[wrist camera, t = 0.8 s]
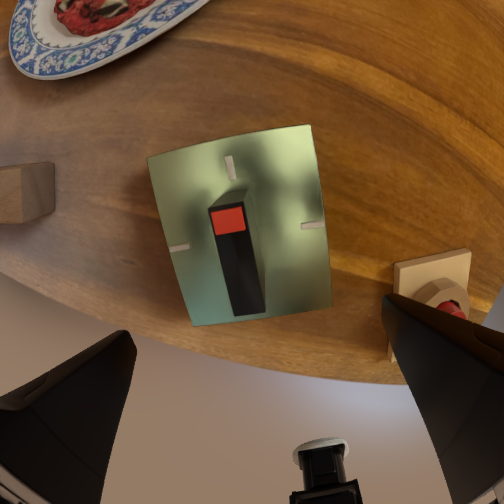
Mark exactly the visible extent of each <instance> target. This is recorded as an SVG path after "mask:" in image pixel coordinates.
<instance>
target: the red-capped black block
mask: <svg viewBox="0 0 504 504" xmlns="http://www.w3.org/2000/svg"><path fill="white" fill-rule="evenodd" d="M208 212H209V216H210V221H211V225H212V229H213V234H214V238H215V242H216V247H217V251H218V255H219V259H220V263H221V267H222V272H223V276H224V280H225V284H226V288H227V292H228V296H229V300H230V303H231V307H232V311H233V315H234V317H237V316H245V315H252V314H259V313H265V312H266V300H265V272H264V266H263V261H262V256H261V250H260V245H259V240H258V234H257V229H256V224H255V218H254V213H253V208H252V203H251V197H250V192H249V189H246V190H240V191H235V192H230V193H225V194H222V195H221V196H220V197H219V198H218V199H217V200H216V201H215V202H214V203H213V204H212V205H211V206H210V207H209V208H208Z"/></svg>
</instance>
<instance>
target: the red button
mask: <svg viewBox="0 0 504 504" xmlns="http://www.w3.org/2000/svg"><path fill="white" fill-rule="evenodd" d="M436 308H437V309H439V310H442V311H445V312H447V313H450V314H453V315H455V316H458V317H460V318H463V319H466V316H465V314H464V313H463V312H462V311H461V310H460V309H459V308H458V307H457V306H456V305H455V304H454V303H453V302H450V301H446V302H443V303H441V304H439V305H438V306H437V307H436Z"/></svg>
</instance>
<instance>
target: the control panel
mask: <svg viewBox="0 0 504 504" xmlns="http://www.w3.org/2000/svg"><path fill="white" fill-rule="evenodd" d="M147 164H148V168H149V173H150V178H151V182H152V186H153V191H154V195H155V199H156V203H157V207H158V211H159V215H160V219H161V223H162V227H163V231H164V234H165V238H166V242H167V245H168V249H169V253H170V256H171V259H172V263H173V266H174V270H175V273H176V276H177V279H178V283H179V286H180V289H181V292H182V295H183V298H184V301H185V305H186V308H187V311H188V314H189V316H190V319H191V322H192V325H193V327H195V326H205V325H214V324H223V323H231V322H239V321H247V320H255V319H262V318H269V317H275V316H282V315H288V314H295V313H301V312H307V311H312V310H318V309H324V308H329V307H333V301H332V285H331V272H330V260H329V249H328V239H327V230H326V221H325V213H324V205H323V197H322V190H321V183H320V176H319V170H318V163H317V157H316V151H315V146H314V140H313V134H312V129H311V125H310V124H302V125H294V126H286V127H280V128H273V129H267V130H261V131H255V132H250V133H244V134H239V135H234V136H229V137H224V138H220V139H215V140H211V141H206V142H202V143H198V144H194V145H190V146H186V147H182V148H179V149H175V150H171V151H168V152H164V153H161V154H157V155H154V156H151V157H147ZM246 189H249V192H250V197H251V203H252V208H253V213H254V218H255V224H256V229H257V234H258V240H259V245H260V250H261V256H262V261H263V266H264V272H265V300H266V312H265V313H259V314H252V315H245V316H237V317H234V315H233V311H232V307H231V303H230V300H229V296H228V292H227V288H226V284H225V280H224V276H223V272H222V267H221V263H220V259H219V255H218V251H217V247H216V242H215V238H214V234H213V229H212V225H211V221H210V216H209V212H208V208H209V207H210V206H211V205H212V204H213V203H214V202H215V201H216V200H217V199H218V198H219V197H220V196H221V195H222V194H225V193H230V192H235V191H240V190H246Z"/></svg>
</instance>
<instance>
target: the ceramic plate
mask: <svg viewBox="0 0 504 504" xmlns="http://www.w3.org/2000/svg"><path fill="white" fill-rule="evenodd" d="M209 1H210V0H19V2H18V4H17V6H16V9H15V11H14V14H13V17H12V21H11V26H10V31H9V51H10V55H11V58H12V60H13V63H14V65H15V66H16V67H17V69H18V70H19V71H21V72H22V73H23V74H25V75H26V76H28V77H31V78H34V79H41V80H56V79H64V78H68V77H72V76H76V75H79V74H82V73H85V72H88V71H91V70H93V69H96V68H98V67H101V66H103V65H105V64H107V63H110V62H112V61H114V60H116V59H118V58H120V57H122V56H124V55H126V54H128V53H130V52H132V51H134V50H135V49H137V48H139V47H141V46H142V45H144V44H146V43H148V42H149V41H151V40H153V39H154V38H156V37H157V36H159V35H161V34H162V33H164V32H166V31H167V30H169V29H171V28H172V27H174V26H175V25H177V24H178V23H179V22H181V21H182V20H184V19H185V18H187V17H188V16H190V15H191V14H193V13H194V12H195V11H197V10H198V9H199V8H201V7H202V6H203V5H205V4H206V3H207V2H209Z"/></svg>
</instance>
